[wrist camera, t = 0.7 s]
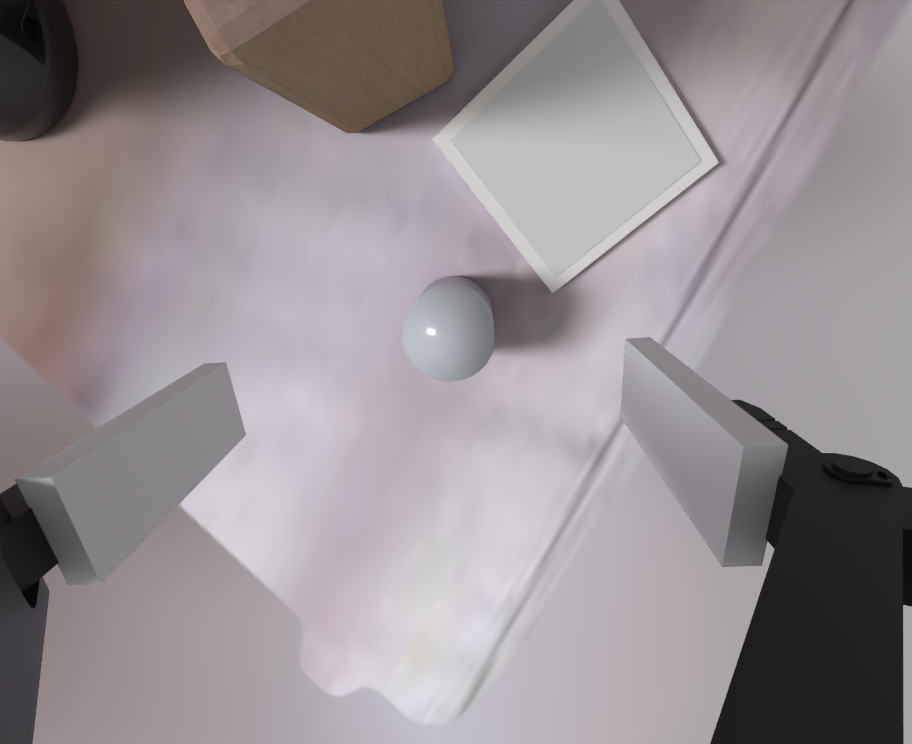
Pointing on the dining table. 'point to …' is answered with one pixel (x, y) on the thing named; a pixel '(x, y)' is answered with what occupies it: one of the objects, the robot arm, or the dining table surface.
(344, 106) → the wooden block
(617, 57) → the shallow square tray
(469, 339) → the pale grey egg
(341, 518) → the dining table surface
